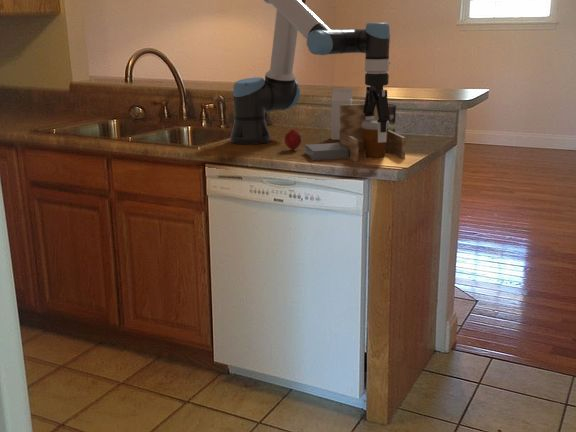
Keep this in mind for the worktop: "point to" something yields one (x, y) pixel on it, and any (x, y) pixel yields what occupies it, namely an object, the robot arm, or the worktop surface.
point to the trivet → (326, 151)
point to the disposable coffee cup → (373, 139)
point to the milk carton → (339, 99)
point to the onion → (292, 139)
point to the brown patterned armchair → (354, 132)
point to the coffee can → (392, 116)
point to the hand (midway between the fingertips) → (375, 138)
